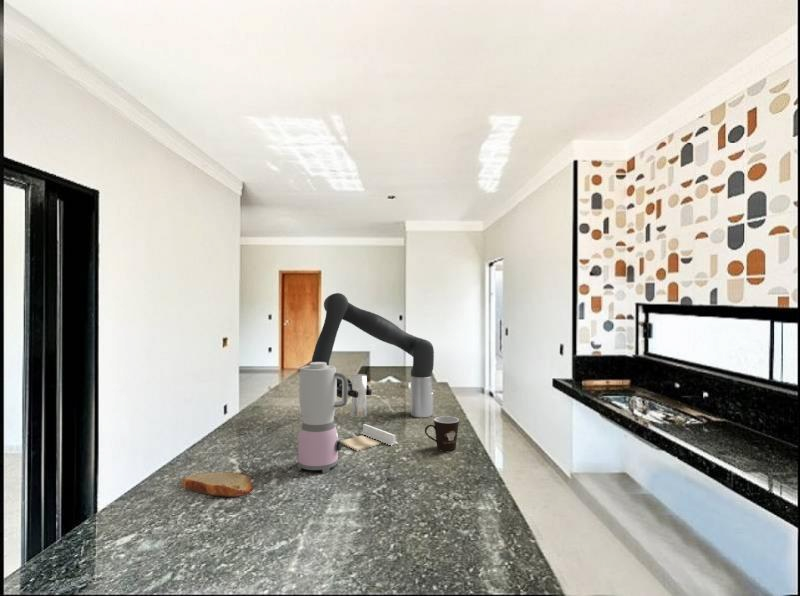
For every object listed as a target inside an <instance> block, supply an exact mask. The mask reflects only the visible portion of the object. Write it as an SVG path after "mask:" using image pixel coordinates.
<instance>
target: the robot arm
mask: <svg viewBox="0 0 800 596" xmlns="http://www.w3.org/2000/svg"><path fill="white" fill-rule="evenodd" d="M348 300H349V299H348V298H347V297H346V296H345V294H343V293H340V292H336V293H335V292H334V293H331V294H330V295H328V296H327V297H326V298H325V299H324V302H323V309H324V310H325V317H324V322H323V326H322V328H321V331H320V333H319V335H318V338H317V340H316V343H315V347H314V350H313V354H312V357H311V363H312V362H326V363H327V365H330V360H331V356H332V353H333V348H334V345H335V341H336V337H337V334H338V331H339V328H340V326H341V323H342V320H343V321H345V322H348V323H349V324H351V325H352V326H354V327H356V328H357V329H359V330H361V331H362V332H364V333H366V334H368V335H370V336H371V337H373V338H375V339H377V340H379V341H381V342H384V343H386V344H389V345H393V346H395V347H397V348H399V349H400V350H402V351H404V352H405V353H407V354H408V355H410V356H411V357H412V362H413V363H412V368H411V369H410V415H411V416H412V417H415V418H428V417H432V416H433V415H434V392H433V370H434V362H435V361H434V360H435V359H434V358H435V351H434V350H435V349H434V345H433V343H431V342H430V341H429V340H427V339H425V338H421V337H417V336H415V335H412V334H410V333H408V332H406V331H404V330H403V329H401V328H400V327H399V326H398V325H396V324H394V323H393V322H392V321H391V320H388V319H387V318H385V317H384V316H381V315H379V314H376V313H374V312H371V311H368V310H366V309H365V310H364V309H362V308H359V307H357V306H355V305H353V304H352V303H350V302H349V301H348ZM346 378H347V381H348V398H349V397H351V398H352V397H354V398H357V397H358V392H357V391H355V390H352V380H350V379H349V377H346ZM371 395H372V389H371V388H370V385H368V384H367V396H371ZM337 397H338V398H340V399H342V380H341V379H337ZM411 416H410V417H411Z"/></svg>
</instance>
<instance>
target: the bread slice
mask: <svg viewBox="0 0 800 596" xmlns="http://www.w3.org/2000/svg"><path fill="white" fill-rule="evenodd" d="M253 485H254V484H253V483H252V481H251V479H250V477H249V476H248V475H246V474H243V473H240V472H231V471H224V472H204V473H195V474H191V475H188V476H185V477H183V479H182V482H181V484H180V487H181V486H183V487H182V488H184V487H185V488H184V489H186V488H187V490H188V489H190V490H189V491H191V490H194V491H193V492H195V491H197V492H196V493H199V492H200V494H202V493H204V494H203V495H207V494H209V495H208V496H212V497H220V496H221V497H226V498H238V497H239V498H240V496H241V497H246V496H248V495H250V494H251V493H252V492H253V491H252V490H254V486H253ZM251 491H252V492H251ZM250 492H251V493H250ZM249 493H250V494H249ZM247 494H248V495H247ZM245 495H246V496H245ZM221 497H220V498H221Z"/></svg>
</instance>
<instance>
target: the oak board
mask: <svg viewBox="0 0 800 596" xmlns="http://www.w3.org/2000/svg"><path fill="white" fill-rule="evenodd" d="M339 441H340V442H341V443H342V444H343V445H342V446H344V445H345V447H346V446H347V447H346V448H349V447H350V448H349V449H351V448H352V449H351V450H353V449H354V451H355V450H356V452H359V450H360V451H363V450H362V449H364V450H367V449H366V448H368V449H370V448H369V447H371V448H373V447H372V446H375V445H379V444H380V445H381V442H379V441H377V440H374V439H372V438H369V437H367V436H364V435H362V434H360V435H358V436H353V437H350V438H346V439H345V438H344V439H341V440H339ZM380 445H379V446H380ZM375 447H376V446H375Z"/></svg>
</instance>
